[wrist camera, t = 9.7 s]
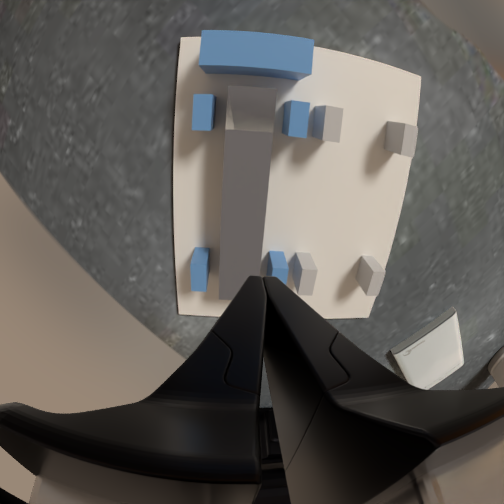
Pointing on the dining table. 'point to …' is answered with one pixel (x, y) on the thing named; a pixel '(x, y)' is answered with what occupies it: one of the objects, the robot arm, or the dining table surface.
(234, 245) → the dark grey bar
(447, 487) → the robot arm
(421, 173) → the dining table surface
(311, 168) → the board
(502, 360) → the travel mug
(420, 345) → the hard drive
